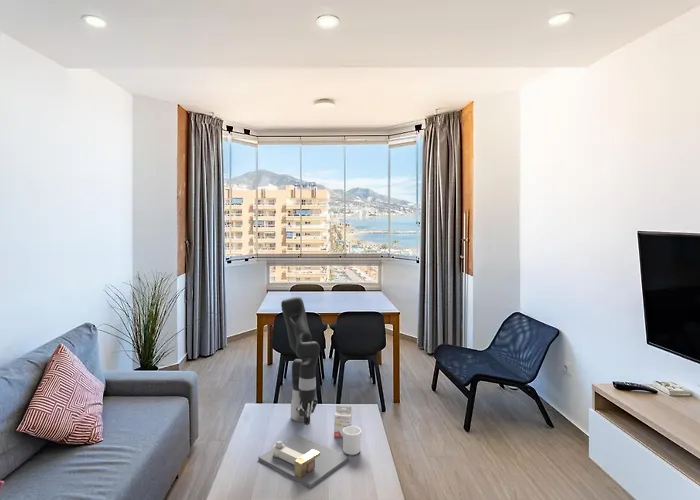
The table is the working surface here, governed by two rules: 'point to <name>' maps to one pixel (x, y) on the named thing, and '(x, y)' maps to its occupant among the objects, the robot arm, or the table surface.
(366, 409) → the table surface
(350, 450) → the mug
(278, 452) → the latch bar
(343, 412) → the ink cartridge box
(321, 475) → the base plate
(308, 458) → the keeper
